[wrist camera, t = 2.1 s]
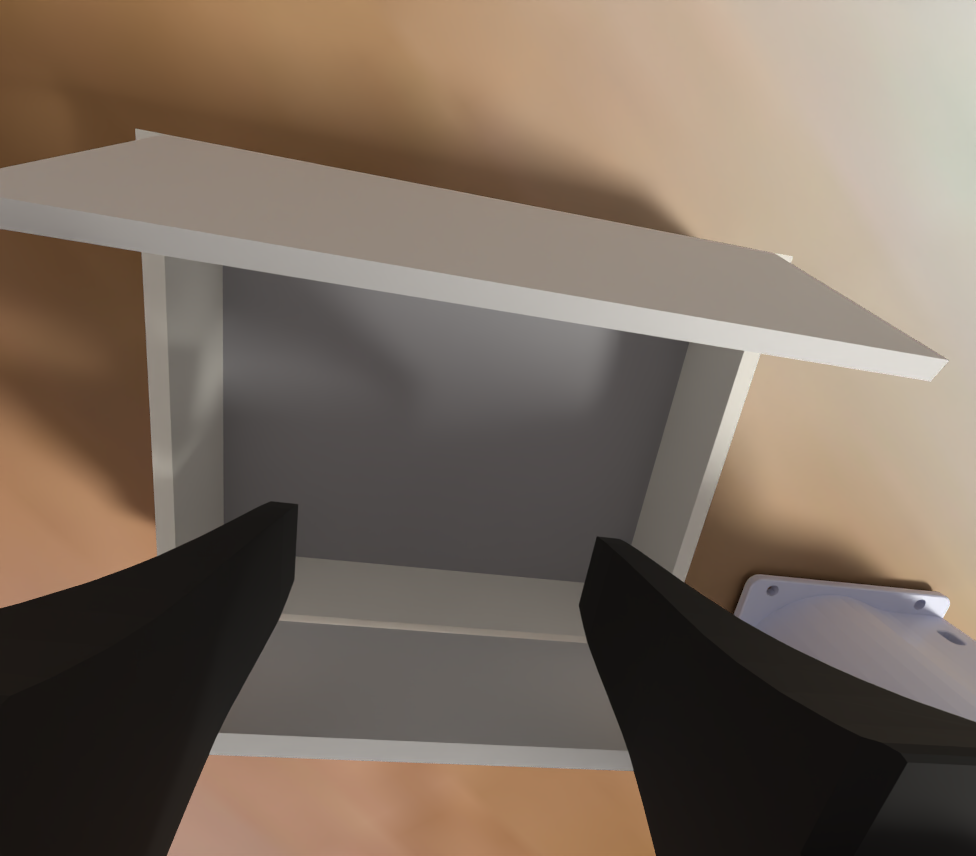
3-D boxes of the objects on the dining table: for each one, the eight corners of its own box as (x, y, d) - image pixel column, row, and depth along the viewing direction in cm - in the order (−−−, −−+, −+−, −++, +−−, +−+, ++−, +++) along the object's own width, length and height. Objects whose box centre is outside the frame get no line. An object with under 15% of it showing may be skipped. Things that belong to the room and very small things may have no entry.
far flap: (644, 647, 16) (643, 659, 16) (184, 613, 14) (182, 627, 14) (762, 756, 10) (760, 776, 10) (24, 724, 8) (21, 747, 8)
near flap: (169, 156, 10) (164, 134, 10) (765, 268, 12) (773, 253, 12) (-60, 218, 6) (-76, 184, 6) (931, 381, 8) (949, 360, 7)
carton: (719, 261, 16) (793, 256, 12) (623, 589, 19) (660, 654, 16) (212, 165, 14) (135, 128, 10) (215, 552, 17) (160, 617, 14)
